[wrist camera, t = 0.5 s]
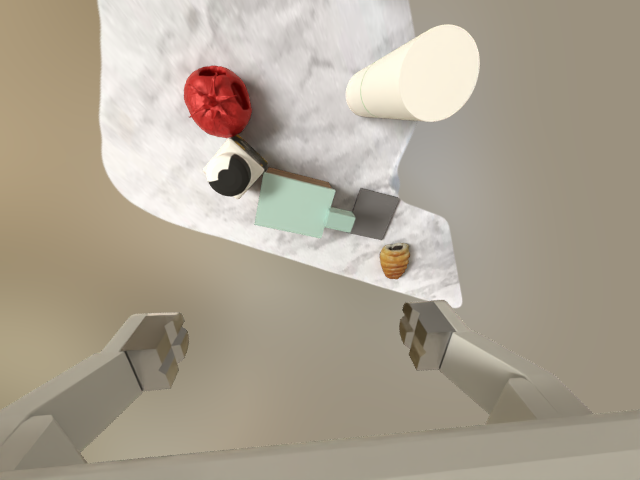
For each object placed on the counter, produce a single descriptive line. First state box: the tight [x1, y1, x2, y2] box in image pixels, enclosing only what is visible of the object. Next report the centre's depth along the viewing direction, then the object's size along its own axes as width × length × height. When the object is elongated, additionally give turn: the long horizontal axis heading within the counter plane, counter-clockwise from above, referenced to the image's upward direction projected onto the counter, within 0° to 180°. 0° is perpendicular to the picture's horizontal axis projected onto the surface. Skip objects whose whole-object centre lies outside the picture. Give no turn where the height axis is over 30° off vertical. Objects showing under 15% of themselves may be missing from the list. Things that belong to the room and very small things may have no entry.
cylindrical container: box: [346, 24, 480, 122], centre depth 33 cm, size 7×7×25 cm
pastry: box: [380, 243, 410, 279], centre depth 59 cm, size 9×7×4 cm
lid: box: [254, 172, 355, 238], centre depth 45 cm, size 10×17×3 cm, turn 75°
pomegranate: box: [184, 66, 252, 138], centre depth 39 cm, size 10×10×9 cm
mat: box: [346, 188, 399, 240], centre depth 55 cm, size 10×9×1 cm
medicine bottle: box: [203, 135, 268, 199], centre depth 42 cm, size 7×7×12 cm
